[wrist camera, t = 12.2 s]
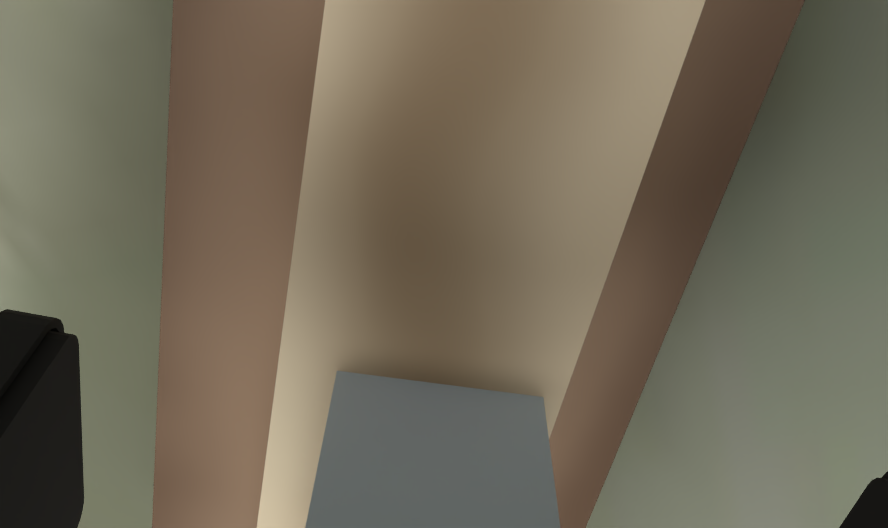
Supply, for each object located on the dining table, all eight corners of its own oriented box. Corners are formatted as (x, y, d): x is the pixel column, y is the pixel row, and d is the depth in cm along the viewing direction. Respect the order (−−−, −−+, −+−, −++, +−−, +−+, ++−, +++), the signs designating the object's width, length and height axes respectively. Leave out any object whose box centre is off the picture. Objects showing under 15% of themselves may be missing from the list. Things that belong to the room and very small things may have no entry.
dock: (800, -145, 18) (858, -129, 15) (534, 555, 29) (541, 633, 26) (226, -281, 17) (184, -288, 14) (179, 500, 28) (150, 576, 25)
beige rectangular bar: (664, -90, 16) (722, -47, 12) (459, 560, 25) (459, 690, 21) (369, -157, 15) (342, -132, 12) (271, 532, 24) (239, 659, 21)
